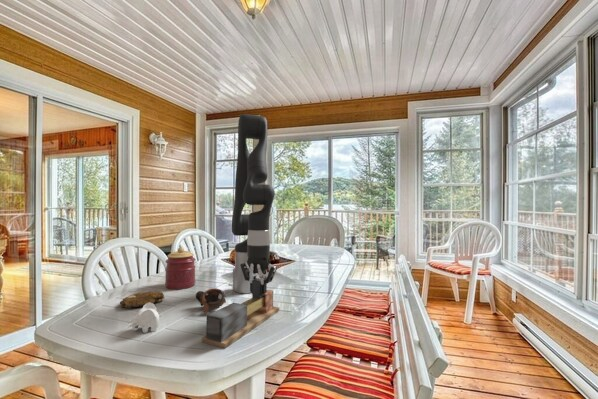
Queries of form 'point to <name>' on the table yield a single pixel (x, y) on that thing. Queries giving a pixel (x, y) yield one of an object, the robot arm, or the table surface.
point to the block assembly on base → (236, 321)
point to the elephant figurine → (146, 318)
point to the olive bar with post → (255, 298)
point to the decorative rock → (141, 299)
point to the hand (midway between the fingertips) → (258, 293)
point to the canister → (180, 270)
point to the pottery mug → (210, 299)
